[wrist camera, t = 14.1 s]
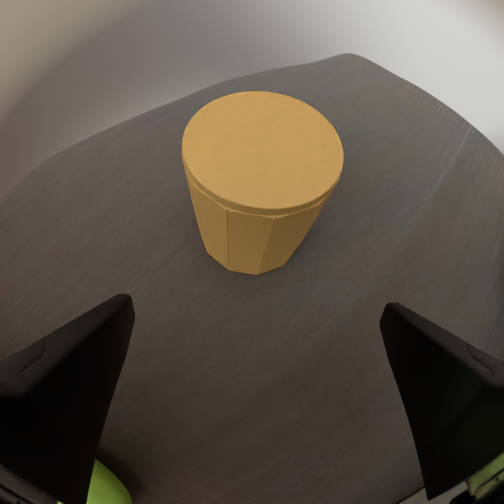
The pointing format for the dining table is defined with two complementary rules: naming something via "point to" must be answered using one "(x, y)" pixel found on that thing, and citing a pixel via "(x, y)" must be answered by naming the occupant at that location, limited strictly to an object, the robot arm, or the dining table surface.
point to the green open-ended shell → (106, 487)
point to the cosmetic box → (419, 500)
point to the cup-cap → (259, 176)
